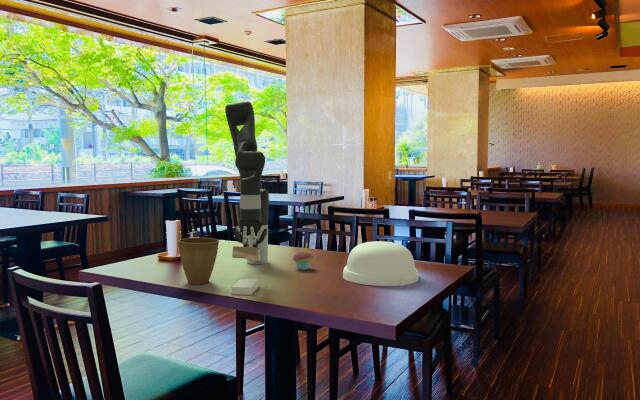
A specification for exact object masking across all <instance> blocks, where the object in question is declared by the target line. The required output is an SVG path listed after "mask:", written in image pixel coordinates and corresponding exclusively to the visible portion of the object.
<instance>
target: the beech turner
mask: <svg viewBox="0 0 640 400" xmlns="http://www.w3.org/2000/svg"><path fill="white" fill-rule="evenodd" d="M231 254H232V256H231V258H232V259H244V260H247V259H249V260H255V261H260V256H261V250H259V248H258V247H243V246H232V253H231Z"/></svg>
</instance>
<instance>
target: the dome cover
mask: <svg viewBox="0 0 640 400" xmlns="http://www.w3.org/2000/svg"><path fill="white" fill-rule="evenodd" d="M346 261H347V262H346V265H345V266H344V268H343V271H342V278H343V280H345V281H348V282H350V283H355V284H359V285H360V284H361V285H365V286H366V285H367V286H376V287H377V286H378V287H395V286H400V287H402V286H407V285H410V284H414V283H416V282H418V281H419V271H418V269H417V268H416V266H415V260H414V257H413V254H412V252H411V251H410V250H409V249H408V248H407V247H406V246H404V245H402V244H400V243H395V242H391V241H380V240H378V241H377V240H376V241H366V242H362V243H359V244H357V245H356V246H355V247H353V248H352V249H351V250H350V252H349V255H348V258H347V260H346Z"/></svg>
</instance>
